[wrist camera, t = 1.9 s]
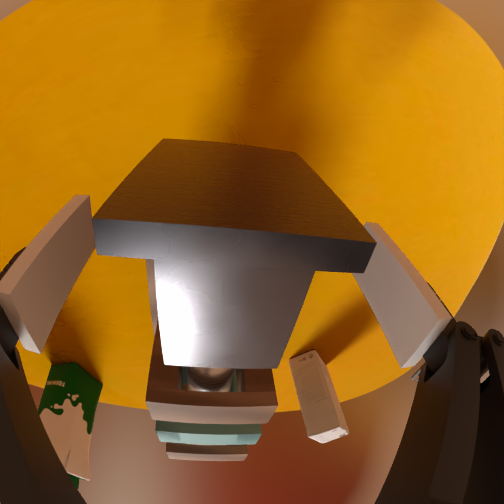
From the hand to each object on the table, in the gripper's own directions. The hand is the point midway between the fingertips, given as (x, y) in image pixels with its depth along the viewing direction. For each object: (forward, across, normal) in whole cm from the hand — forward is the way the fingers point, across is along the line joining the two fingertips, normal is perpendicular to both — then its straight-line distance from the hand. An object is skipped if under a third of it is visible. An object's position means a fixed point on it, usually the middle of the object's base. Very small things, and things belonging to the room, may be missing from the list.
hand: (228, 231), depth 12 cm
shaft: (+4, 0, -12) cm, 12 cm away
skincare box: (+11, +15, -26) cm, 32 cm away
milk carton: (+10, -22, -35) cm, 43 cm away
